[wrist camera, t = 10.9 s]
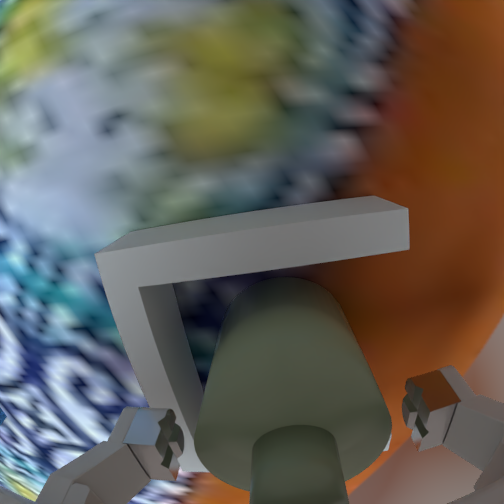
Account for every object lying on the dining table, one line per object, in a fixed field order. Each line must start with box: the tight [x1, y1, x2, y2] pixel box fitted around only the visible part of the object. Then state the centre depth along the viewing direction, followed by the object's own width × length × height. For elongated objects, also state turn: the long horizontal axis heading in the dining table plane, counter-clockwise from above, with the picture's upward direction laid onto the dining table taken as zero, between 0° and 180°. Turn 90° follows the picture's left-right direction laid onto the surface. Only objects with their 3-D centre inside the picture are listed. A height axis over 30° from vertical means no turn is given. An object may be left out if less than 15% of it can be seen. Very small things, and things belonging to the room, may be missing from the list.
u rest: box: [94, 196, 410, 472], centre depth 11 cm, size 10×9×3 cm
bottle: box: [194, 277, 392, 504], centre depth 9 cm, size 5×5×8 cm
